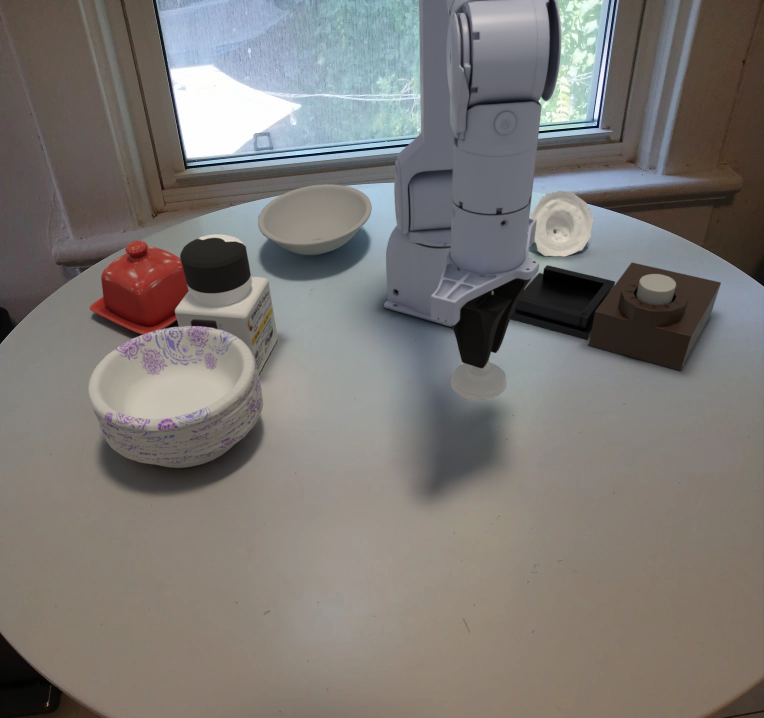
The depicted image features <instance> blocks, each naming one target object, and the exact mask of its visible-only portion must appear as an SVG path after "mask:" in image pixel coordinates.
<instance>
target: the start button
mask: <svg viewBox="0 0 764 718" xmlns="http://www.w3.org/2000/svg"><path fill="white" fill-rule="evenodd" d="M675 288H676V282H675V281H674V280H673V279H672V278H670V277H668V276H665V275H661V274H649V275H645V276H643V277H642V278H641V279H640V281H639V285H638V290H637V294H636V297H637V299H638V300H640V301H641V302H643V303H647V304H651V305H666V304H669V303H671V301H672V299H673V295H674V291H675Z"/></svg>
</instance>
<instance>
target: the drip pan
mask: <svg viewBox="0 0 764 718" xmlns="http://www.w3.org/2000/svg"><path fill="white" fill-rule="evenodd" d="M615 284H616V281H615V280H611V279H607V278H602V277H598V276H595V275H591V274H586V273H582V272H577V271H574V270H569V269H565V268H561V267H557V266H552V265H548V264H547V265H545V267H544V268H543V273H541V272H538V274H537V275H535V276H534V277H533V278H532V280H531V281H530V282H529V283H528V284H527V286H526V287H525V289H524V291H523V292H522V294H521V296H520V298H519V300H518V302H517V304H516V306H515V308H514V310H513V313H512V315H511V318H510V320H514V321H518V322H521V323H526V324H528V325H532V326H536V327H540V328H543V329H547V330H550V331H555V332H558V333H562V334H565V335H569V336H572V337H576V338H580V339H583V340H588V339H590V336H591V331H592V326H593V320H594V315H595V311H596V310H597V309H598V307H599V306H600V305H601V303H602V302H603V300H604V299H605V298H606V296H607V295H608V294H609V292H610V291H611V290H612V288H613V287H614V286H615Z"/></svg>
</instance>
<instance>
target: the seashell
mask: <svg viewBox="0 0 764 718" xmlns="http://www.w3.org/2000/svg"><path fill="white" fill-rule="evenodd" d="M530 218H531V219H536V220H537V223H536V232H535V240H534V243H535V245H536V248H537V251H538V253H540V254H541V255H543V256H544V257H548V256H549V257H568V256H570V255H573V254H575V253H577V252H580V251H583V250H584V248H585V246H586V245H587V243H588V241H589V240H590V239H591V237H592V234H593V233H592V232H591V231H592V228H593V223H594V221H595V218H594V215H593V214H592V212H591V208H590V207H588V203H587V202H586V201H585V200H583V199H582V198H580V197H579V196H578V195H576V193H574V192H573V191H568V190H567V191H566V190H565V191H564V190H558V191H555V192H554V191H552V192H550V193H546V194H545V195H544V196H543V195H542V197H540V199H539V201H538V203H537V204H536V206H534V209H533V210H532V212H530Z"/></svg>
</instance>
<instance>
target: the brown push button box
mask: <svg viewBox="0 0 764 718" xmlns="http://www.w3.org/2000/svg"><path fill="white" fill-rule="evenodd" d="M649 274H661V275H665V276H668V277H670V278H672V279H673V280H674V281H675V282H676V288H675V291H674V295H673V299H672V301H671V303H669V304H666V305H651V304H647V303H643V302H641V301H640V300H638V299H637V297H636V294H637V290H638V285H639V281H640V279H641V278H642V277H643V276H645V275H649ZM721 284H722V282H721V281H716V280H711V279H708V278H703V277H698V276H694V275H691V274H690V275H689V274H686V273H680V272H676V271H672V270H667V269H663V268H659V267H655V266H649V265H645V264H642V263H637V262H630V263H629V265H628V267H627V268H626V269H625V271H624V272H623V273H622V275H621V276H620V278H618V280H617V281H616V282H615V285H614V287H613V288H612V290H611V291H610V292H609V294H608V295H607V296H606V298H605V299H604V300H603V302H602V303H601V305H600V306H599V307H598V309H597V310H596V311H595V315H594V320H593V326H592V331H591V335H590V337H589V341H588V346H590V347H593V348H597V349H600V350H604V351H608V352H610V353H615V354H618V355H623V356H626V357H629V358H633V359H637V360H640V361H645V362H648V363H650V364H651V363H652V364H655V365H658V366H662V367H666V368H670V369H673V370H676V371H682V369H683V367H684V366H685V364H686V363H687V362H686V361H687V360H688V358H689V356H690V354H691V352H692V351H693V349H694V347H695V346H696V343H697V341H698V340H699V338H700V336H701V335H702V332H703V330H704V329H705V327H706V325H707V323H708V321H709V319H710V318H711V315H712V312H713V309H714V306H715V303H716V301H717V297H718V294H719V291H720V288H721Z"/></svg>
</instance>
